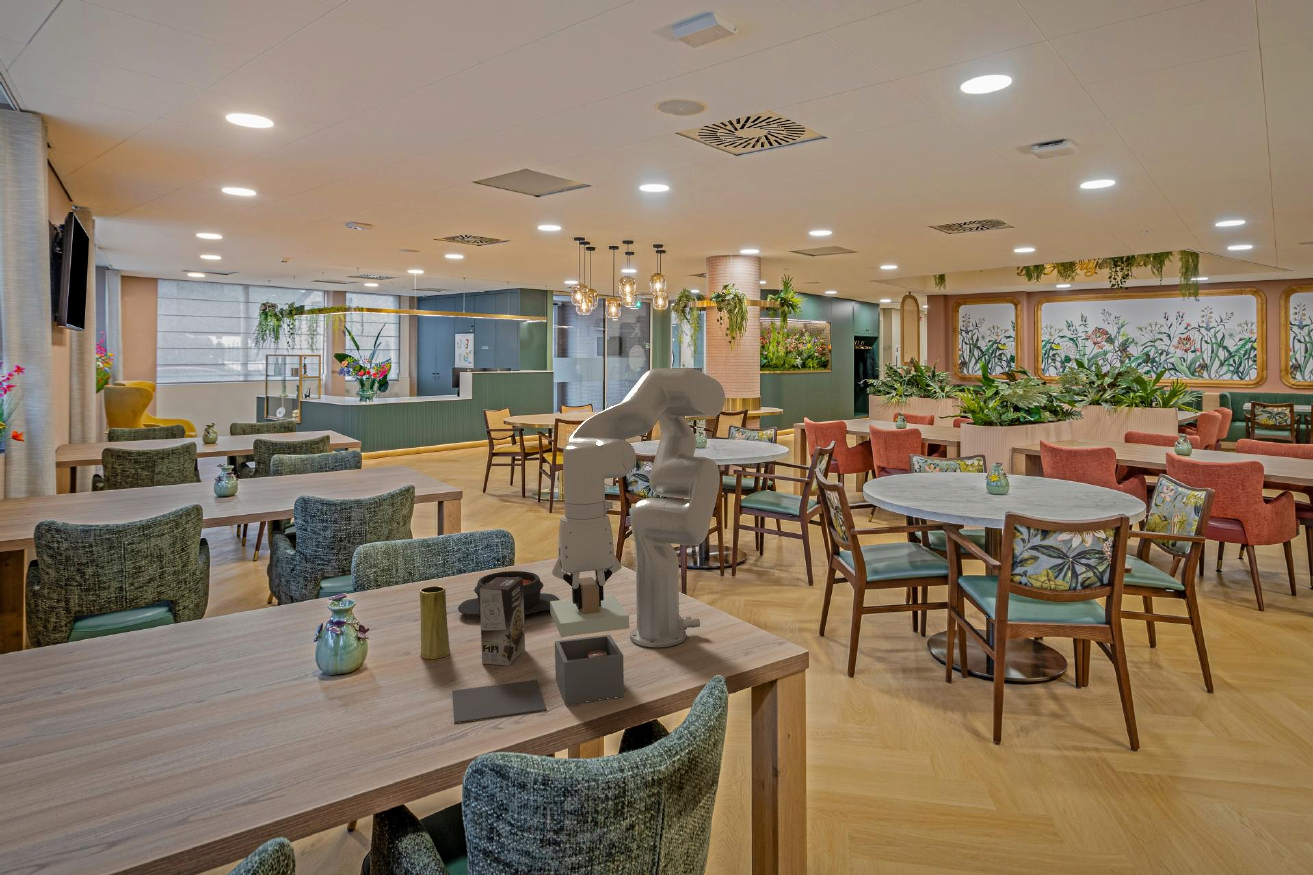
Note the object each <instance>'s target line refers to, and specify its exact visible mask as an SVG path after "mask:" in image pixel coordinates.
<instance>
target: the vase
mask: <svg viewBox="0 0 1313 875" xmlns="http://www.w3.org/2000/svg"><path fill="white" fill-rule="evenodd" d="M446 590H447V589H446V588H445V587H444V586H443V585H430V586H425V587H422V588H420V589H419V600H420V601H419V602H420V603H419V604H420V657H421V658H422V659H425V660H437V659H441V658H445V657H447V656H449V655H450V653H451V649H450V637H449V630H448V628H449V627H448V614H447V596H446V595H447V594H446Z"/></svg>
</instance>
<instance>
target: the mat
mask: <svg viewBox="0 0 1313 875" xmlns="http://www.w3.org/2000/svg"><path fill="white" fill-rule="evenodd" d="M452 707H453V708H452V709H453V722H454V723H455V724H460V723H459V722H462V723H465V722H464V721H469V722H474V721H473V720H476V721H481V720H480V719H483V720H489V719H495V718H503V716H504V717H509V716H516V715H517V714H518V715H523V714H524V715H525V714H531V713H530V712H532V713H537V712H536V711H539V712H543V711H542V710H546V711H547V706H546V702H545V700H544V696H543V693H542V690H541V688H540V685H539V681H538V679H532V680H523V681H515V682H509V683H502V684H493V685H492V684H491V685H485V686H478V687H470V688H463V689H455V690H452ZM518 715H517V716H518Z"/></svg>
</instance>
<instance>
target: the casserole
mask: <svg viewBox="0 0 1313 875" xmlns="http://www.w3.org/2000/svg"><path fill="white" fill-rule="evenodd" d="M496 577H504V578H505V577H517V578H523V598H524V617H525V616H527V615H528V616H529V615H530V614H534V613H537V612H543V611H548V610H550V601H558V600H561V599H560V598H559V597H558V595H557V596H556V595H555V594H553V593H545V592H544V593H541V592H542V591H541V590H542V589H543V588H544V583H543V582H542V581H541V579H540V577H539V575H538V574H536V573H534V572H531V571H524V570H523V571H521V570H508V571H499V572H494V573H490V574H487V575H484V576H482V577H480V578H479V579H478V581H477V584H476V586H474V588H473V591H474V593H475V594H476V595H477V597H476V598H475V597H474V598H469V599H467V600H464V601H463V602H461V603H460V604H459V605H458V607H457V611H458V612H459V613H461V614H462V615H465V616H474V617H475V616H478V617H481V615H480V588H481V587H483V586H484V585H486V584H487V583H489V582H490V581H492V580H493V579H494V578H496Z"/></svg>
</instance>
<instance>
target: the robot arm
mask: <svg viewBox="0 0 1313 875" xmlns="http://www.w3.org/2000/svg"><path fill="white" fill-rule="evenodd" d="M725 403H726V392H725V390H724V387H723V385H722V384H721V382H720V381H719V380H717V379H716V378H714V377H712V376H710V375H708V374H705V373H704V372H702V371H699V370H698V369H694V368H688V367H686V368H685V367H681V368H680V367H677V368H675V367H674V368H672V367H671V368H670V367H668V368H667V367H666V368H665V367H664V368H663V367H661V368H659V367H658V368H651V369H650V370H647V371H645V373H644V374H643V375H642V376H641V377H640V378H639V380H638V381H637V382H636V383H635V384H634V386H632V388H631V389H630V391H629V392H628V393H627V394H626V396H625V397H624V398H623V399H622V401H621V402H619V403H618V404H615V405H613V406H610V407H608V408H606V409H604V410H603V411H601V412H598V413H596V414H594V415H593V416H591V417H590V416H589V418H587V419H586V420H584V421H583V422H582V423H581V424H580V425H579V426H578V427H577V428H576V430H575V431H574V432H573V433H572V434H571V436H570V437H569V438H568V440H567V442H566V444H565V446H564V448H563V450H562V470H563V494H564V495H563V496H564V497H563V499H564V500H563V501H564V516H562V517H561V518H560V521H559V528H558V542H557V546H558V547H557V556H558V558H557V560H556V562H555V564H554V566H553V569H552V570H551V573H552V575H553V576H554V577H555V578H558V579H561V580H564V581H565V582H566V583H567V584H568V585H569V586H571V593H572V594H571V595H572V597H571V599H572V600H573V604H576V606H577V608H578V609H581V608H582V597H581V588H580V584H579V578H580V573H582V572H593V571H594V573H595V574H594V575H595V579H594V580H595V582H596V583H597V585H598V586H599V607H601V601H603V600H604V595H605V594H604V586H605V585H606V582H607V581H608V580H609V579H610V577H612V575H613V574H616V573H617V572H618V571H620V570H621V569H622V564H621V563H620V561H619V559H618V557H617V556H616V554H615V547H614V539H613V529H612V525H611V524H612V523H611V521H610V520H611V519H610V516H609V514H607V512H608V511H609V510H612V509H614V503H613V501H607V500H606V495H605V494H606V491H605V490H606V489H605V486H606V485H605V480H606V479H607V480H608V479H619V478H623V477H626V476H627V475H629V474H630V473H631V472H632V470H634V467H635V465H636V462H637V454H636V451H635V450H636V449H635V448H634V446H633V445H632V444H631V443H630V442H628V441H627V440H629V439H634V438H636V437H640V436H643V435H646V434H647V433H649V432H650V431H652V430H653V428H654V427H655V426H656V424H657V423H658V424H659V430H660V437H659V438H660V439H659V441H658V445H657V446H658V447H657V450H656V453H655V456H654V460H653V463H652V468H651V471H650V475H649V479H648V480H649V481H648V482H649V488H650V490H651V492H653V493H654V494H655V495H658V496H662V498H660V497H649V498H648V497H646V498H643V499H641V500H639V501H636V503H635V504H634V505H633V506H632V509H631V510H630V511H631V513H630V518H629V519H630V526H631V532H632V535H633V536H632V538H633V543H634V550H635V594H636V595H635V597H636V598H635V599H636V602H635V603H636V627H634V628H633V629H631V631H630V632H629V638H630V640H631V641H632V642H633V643H634V644H636V645H639V646H642V647H648V648H668V647H674V646H677V645H680V644H681V643H683V642H684V641H685V640H686V638H687V631H686V630H688V628H690V629H691V628H700V627H701V620H700V618H692V617H691V616H684V617H682V616H680V588H679V586H680V580H679V579H680V576H679V575H680V573H679V572H680V571H679V570H680V567H679V566H680V564H679V563H680V562H679V558H678V555H677V552H676V550H675V547H673V545H672V544H674V545H683V546H697V545H698V546H699V545H700V544H702V543H703V542H704V541H705V540H706V538H707V535H708V533H709V531H710V526H711V522H712V518H713V515H714V511H715V510H714V509H715V505H716V502H717V497H718V494H719V489H720V482H721V481H720V478H721V476H720V469H719V466H718V464H717V463H716V461H714V460H713V459H712V458H709V457H705V456H695V453H696V452H695V451H696V447H697V437H696V434H695V433H694V430H693V428H692V427H691V426H690V425H689V423H688V422H687V421H686V419H685V417H691V418H695V417H696V418H697V417H698V418H699V417H700V418H714V417H716V416H718V415H719V414H721V412H722V411H723V409H724V407H725ZM664 497H666V498H664ZM671 498H674V499H671ZM675 498H677V499H675ZM680 499H681V500H680ZM682 499H686V500H682ZM687 499H688V500H687ZM569 573H570V574H569Z"/></svg>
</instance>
